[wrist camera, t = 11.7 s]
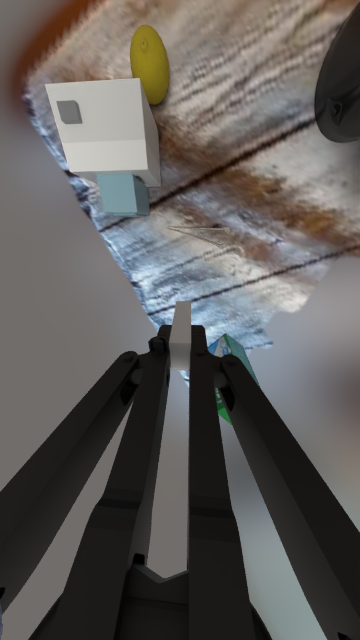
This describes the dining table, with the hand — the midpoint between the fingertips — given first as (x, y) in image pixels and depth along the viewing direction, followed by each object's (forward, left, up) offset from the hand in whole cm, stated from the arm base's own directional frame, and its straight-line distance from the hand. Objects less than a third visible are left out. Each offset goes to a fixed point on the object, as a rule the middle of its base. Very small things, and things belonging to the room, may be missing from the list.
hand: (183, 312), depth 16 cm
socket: (+12, -19, -28) cm, 36 cm away
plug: (+12, -14, -28) cm, 34 cm away
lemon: (+6, -28, -29) cm, 40 cm away
